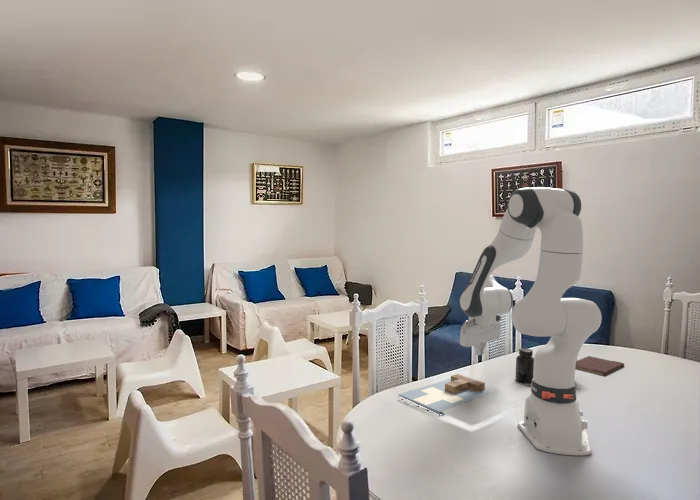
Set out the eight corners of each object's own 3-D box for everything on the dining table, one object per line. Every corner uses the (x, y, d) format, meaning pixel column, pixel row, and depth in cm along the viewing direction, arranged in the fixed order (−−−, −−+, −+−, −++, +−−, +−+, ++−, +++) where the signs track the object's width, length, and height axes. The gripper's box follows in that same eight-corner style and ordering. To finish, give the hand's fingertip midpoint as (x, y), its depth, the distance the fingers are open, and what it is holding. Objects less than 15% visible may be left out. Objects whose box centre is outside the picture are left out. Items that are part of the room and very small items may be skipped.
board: (452, 381, 177) (452, 377, 177) (492, 396, 163) (492, 391, 163) (399, 398, 160) (399, 394, 159) (439, 416, 145) (439, 411, 145)
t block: (457, 380, 174) (457, 373, 174) (484, 389, 165) (484, 382, 165) (436, 387, 167) (436, 380, 167) (463, 397, 157) (463, 390, 157)
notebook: (567, 367, 197) (567, 363, 197) (587, 359, 210) (588, 354, 210) (604, 377, 186) (605, 372, 185) (624, 367, 198) (624, 363, 198)
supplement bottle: (537, 383, 176) (538, 352, 175) (518, 383, 176) (519, 352, 175) (530, 377, 183) (531, 347, 182) (512, 377, 183) (513, 347, 182)
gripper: (470, 323, 162) (469, 361, 164) (504, 315, 175) (502, 351, 176) (456, 319, 167) (454, 357, 169) (490, 312, 180) (488, 347, 181)
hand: (479, 354), depth 173 cm, fingers closed
